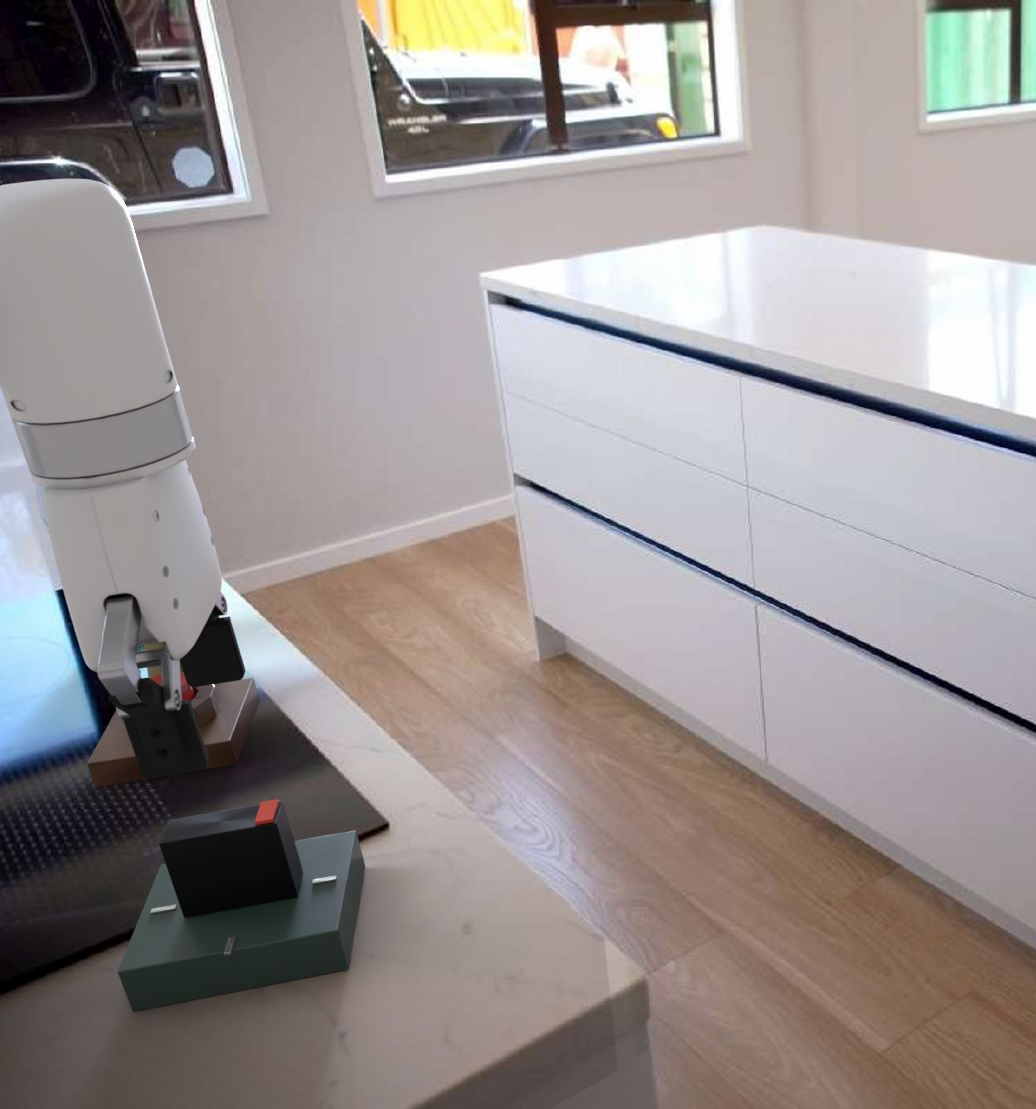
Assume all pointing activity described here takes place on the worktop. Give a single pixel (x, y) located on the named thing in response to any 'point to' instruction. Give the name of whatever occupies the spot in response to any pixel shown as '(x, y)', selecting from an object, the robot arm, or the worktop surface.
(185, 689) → the release button
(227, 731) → the brown block
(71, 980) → the worktop surface
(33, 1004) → the worktop surface
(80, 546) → the robot arm
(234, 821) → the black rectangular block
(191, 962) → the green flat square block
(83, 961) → the worktop surface
